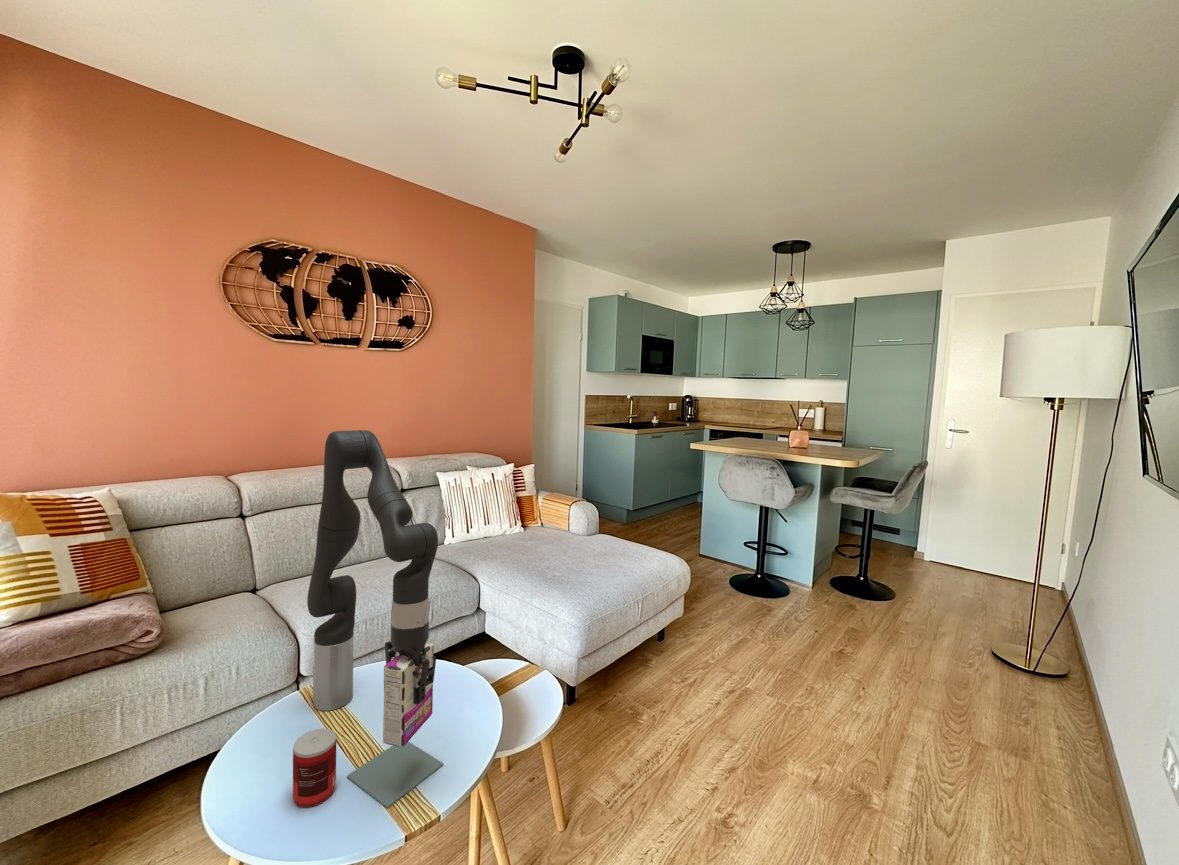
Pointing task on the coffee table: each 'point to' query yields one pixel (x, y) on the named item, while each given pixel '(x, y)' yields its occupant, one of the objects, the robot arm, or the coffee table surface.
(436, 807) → the coffee table surface
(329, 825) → the coffee table surface
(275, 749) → the coffee table surface
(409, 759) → the mat
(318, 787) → the canned food
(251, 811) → the coffee table surface
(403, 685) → the candy bar box
